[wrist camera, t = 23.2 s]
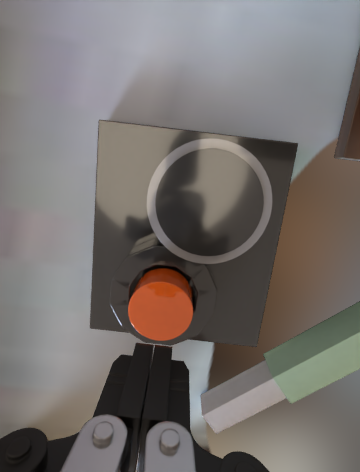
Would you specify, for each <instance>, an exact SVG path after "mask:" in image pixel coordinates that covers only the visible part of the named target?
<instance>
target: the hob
mask: <svg viewBox="0 0 360 472" xmlns="http://www.w3.org/2000/svg"><path fill="white" fill-rule="evenodd" d="M209 138H212V139H222V140H227V141H230V142H233V143H236V144H238V145H240V146H242V147H243V148H245V149H246V150H248V151H249V152H250V153H251V154H252V155H254V156H255V157H256V158H257V160H258V161H259V162H260V163H261V165H262V166H263V168H264V170H265V171H266V174H267V176H268V178H269V181H270V185H271V190H272V210H271V215H270V219H269V221H268V224H267V226H266V228H265V230H264V232H263V234H262V235H261V237H260V238H259V239H258V241H257V242H256V243H255V244H254V245H253V246H252V247H251V248H250V249H248V250H247V251H246V252H244V253H243V254H241V255H240V256H238V257H236V258H234V259H231V260H228V261H225V262H221V263H215V264H201V263H195V262H191V261H188V260H185V259H183V258H181V257H179V256H177V255H175V254H174V253H172V252H171V251H170V250H168V249H167V248H166V247H165V246H164V245H163V244H162V243H161V242H160V240H159V239H158V238H157V236H156V234H155V233H154V231H153V229H152V227H151V224H150V221H149V217H148V213H147V192H148V187H149V184H150V181H151V178H152V176H153V174H154V172H155V170H156V169H157V167H158V166H159V164H160V163H161V162H162V161H163V159H164V158H165V157H166V156H168V155H169V154H170V153H171V152H172V151H174V150H175V149H176V148H178V147H180V146H182V145H184V144H186V143H189V142H191V141H195V140H200V139H209ZM297 147H298V143H291V142H283V141H274V140H266V139H257V138H249V137H241V136H232V135H224V134H215V133H207V132H199V131H190V130H182V129H173V128H165V127H157V126H148V125H140V124H131V123H123V122H115V121H106V120H99V128H98V151H97V174H96V198H95V221H94V244H93V268H92V291H91V314H90V328H91V329H100V330H109V331H118V332H127V333H131V334H132V335H134V336H136V337H137V338H139V339H140V340H142V341H143V342H145V343H153V344H162V345H174V344H177V343H179V342H182V341H185V340H187V339H190V340H199V341H208V342H216V343H225V344H234V345H243V346H252V347H257V343H258V338H259V332H260V328H261V323H262V318H263V313H264V308H265V303H266V298H267V294H268V289H269V284H270V279H271V274H272V269H273V264H274V259H275V255H276V250H277V245H278V240H279V235H280V230H281V225H282V220H283V215H284V210H285V206H286V200H287V196H288V191H289V186H290V181H291V176H292V171H293V166H294V162H295V157H296V152H297ZM158 268H167V269H172V270H175V271H177V272H179V273H180V274H182V275H183V276H184V277H185V278H186V279H187V281H188V282H189V284H190V286H191V289H192V298H193V318H192V321H191V323H190V325H189V327H188V328H187V329H186V331H185V332H184V333H182V334H181V335H180V336H178V337H176V338H174V339H170V340H165V341H158V340H152V339H149V338H147V337H145V336H143V335H141V334H140V333H139V332H138V331H137V330H136V329H135V328H134V327H133V325H132V323H131V321H130V319H129V314H128V306H129V302H130V299H131V297H132V294H133V292H134V289H135V287H136V285H137V282H138V281H139V279H140V278H141V277H142V276H143V275H144V274H146V273H147V272H149V271H151V270H154V269H158Z"/></svg>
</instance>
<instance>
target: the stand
mask: <svg viewBox="0 0 360 472" xmlns="http://www.w3.org/2000/svg"><path fill="white" fill-rule="evenodd" d="M334 158H337V159H345V160H354V161H360V49H359V53H358V58H357V62H356V66H355V70H354V75H353V79H352V83H351V87H350V91H349V96H348V100H347V104H346V108H345V113H344V117H343V121H342V125H341V130H340V134H339V138H338V143H337V147H336V151H335V155H334Z"/></svg>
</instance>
